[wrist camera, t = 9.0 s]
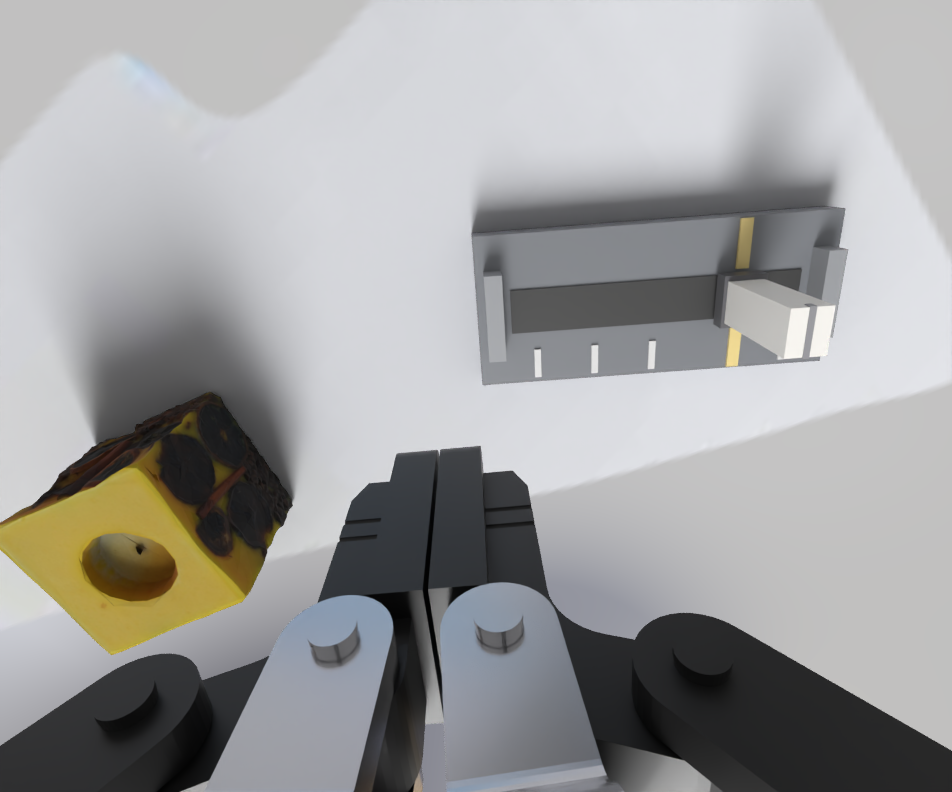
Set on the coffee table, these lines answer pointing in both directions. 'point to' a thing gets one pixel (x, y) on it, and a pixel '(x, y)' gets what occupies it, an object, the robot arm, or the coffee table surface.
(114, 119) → the coffee table surface
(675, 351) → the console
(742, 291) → the fader
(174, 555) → the candle
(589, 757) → the robot arm
